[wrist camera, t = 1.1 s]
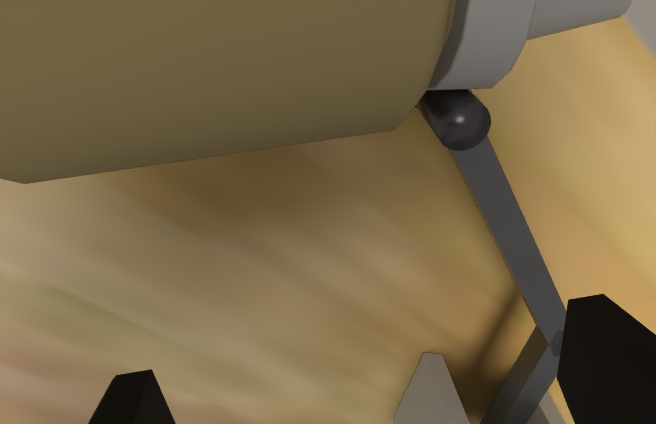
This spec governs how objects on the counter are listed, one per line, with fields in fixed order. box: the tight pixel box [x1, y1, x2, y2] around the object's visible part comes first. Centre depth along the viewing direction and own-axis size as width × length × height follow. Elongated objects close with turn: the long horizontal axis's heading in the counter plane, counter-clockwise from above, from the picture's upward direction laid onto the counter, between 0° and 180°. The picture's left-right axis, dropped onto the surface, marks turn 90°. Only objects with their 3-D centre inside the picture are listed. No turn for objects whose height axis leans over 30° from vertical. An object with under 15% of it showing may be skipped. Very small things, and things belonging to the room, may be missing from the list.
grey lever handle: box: [415, 89, 566, 424], centre depth 22 cm, size 20×6×4 cm, turn 1°
